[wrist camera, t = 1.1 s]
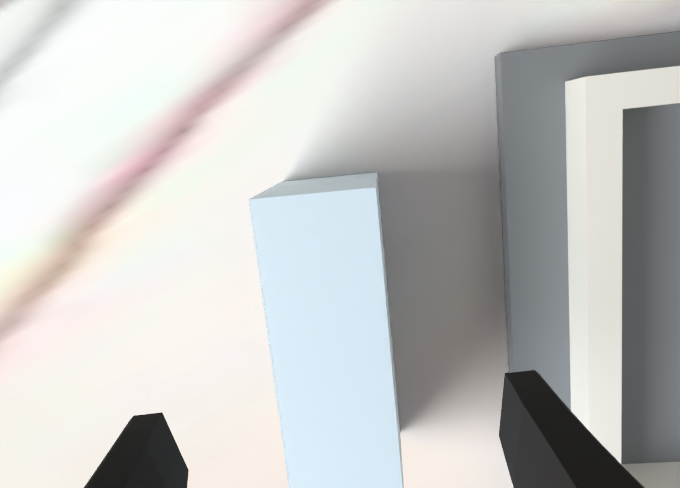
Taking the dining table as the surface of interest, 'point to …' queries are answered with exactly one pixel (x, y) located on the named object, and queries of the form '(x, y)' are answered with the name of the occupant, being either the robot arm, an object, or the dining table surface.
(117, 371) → the dining table surface
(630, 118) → the cradle jig
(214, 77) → the dining table surface
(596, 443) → the robot arm
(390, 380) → the block
